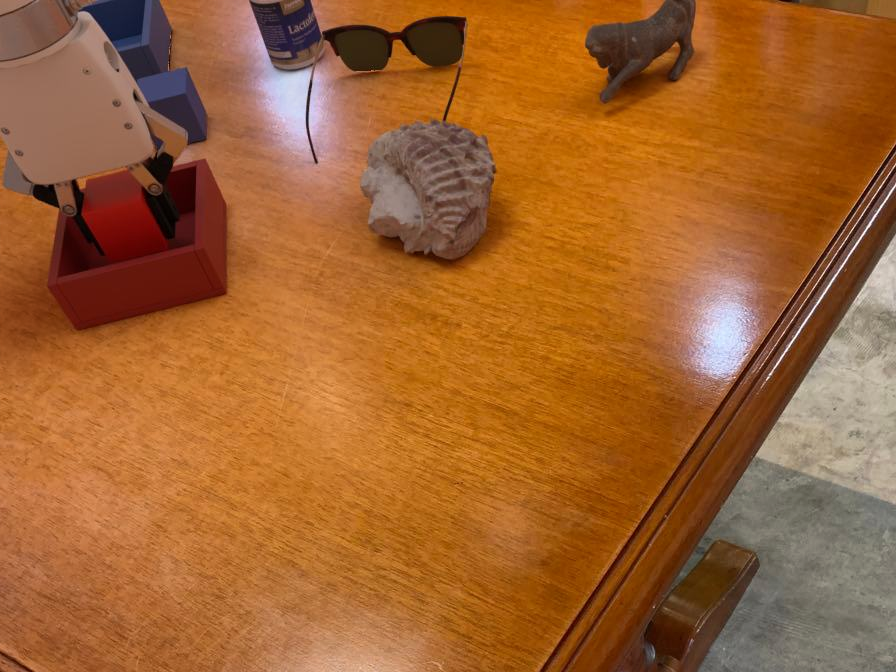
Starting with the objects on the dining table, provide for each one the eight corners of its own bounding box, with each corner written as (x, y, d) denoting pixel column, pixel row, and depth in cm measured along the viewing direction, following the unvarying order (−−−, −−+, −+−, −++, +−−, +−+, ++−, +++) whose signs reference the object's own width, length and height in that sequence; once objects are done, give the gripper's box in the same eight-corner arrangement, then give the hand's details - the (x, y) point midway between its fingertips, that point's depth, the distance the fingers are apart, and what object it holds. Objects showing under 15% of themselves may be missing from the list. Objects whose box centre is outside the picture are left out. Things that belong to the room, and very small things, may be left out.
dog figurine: (673, 39, 96) (669, -44, 90) (713, 61, 93) (712, -23, 87) (569, 93, 93) (558, 12, 87) (607, 118, 90) (598, 35, 84)
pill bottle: (311, 73, 102) (276, -30, 94) (262, 71, 104) (223, -31, 96) (335, 42, 105) (303, -60, 97) (287, 40, 107) (252, -61, 99)
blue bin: (48, 117, 105) (24, 74, 101) (60, 56, 112) (38, 14, 109) (168, 87, 105) (148, 44, 101) (172, 28, 112) (153, -14, 109)
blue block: (157, 151, 98) (134, 105, 94) (159, 125, 101) (137, 78, 97) (206, 139, 98) (185, 92, 94) (207, 113, 101) (186, 66, 97)
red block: (110, 264, 84) (80, 214, 80) (114, 229, 87) (85, 179, 83) (167, 249, 84) (140, 199, 80) (169, 215, 87) (143, 165, 83)
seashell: (327, 173, 86) (362, 62, 80) (421, 181, 92) (462, 78, 85) (398, 289, 80) (443, 179, 73) (495, 290, 86) (545, 188, 79)
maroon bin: (76, 330, 83) (46, 286, 80) (88, 237, 91) (61, 193, 87) (226, 293, 83) (203, 247, 80) (226, 203, 91) (205, 157, 87)
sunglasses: (478, 62, 99) (467, 13, 95) (458, 165, 91) (444, 117, 87) (336, 75, 102) (319, 27, 97) (305, 176, 94) (285, 129, 90)
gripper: (140, -35, 73) (238, 186, 87) (-93, 23, 73) (44, 234, 87) (135, 15, 68) (239, 240, 83) (-114, 76, 68) (35, 290, 83)
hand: (138, 235), depth 85 cm, fingers closed on red block, 4 cm apart
